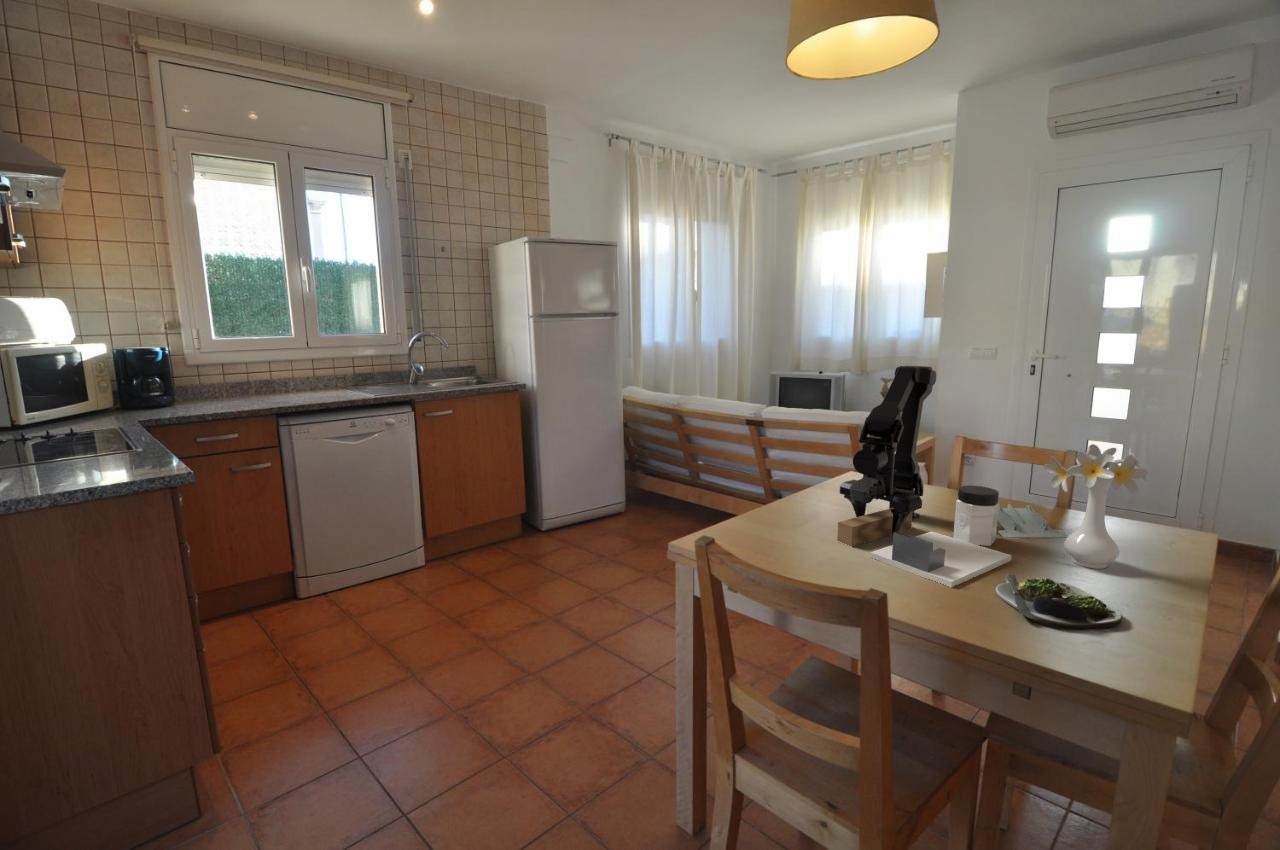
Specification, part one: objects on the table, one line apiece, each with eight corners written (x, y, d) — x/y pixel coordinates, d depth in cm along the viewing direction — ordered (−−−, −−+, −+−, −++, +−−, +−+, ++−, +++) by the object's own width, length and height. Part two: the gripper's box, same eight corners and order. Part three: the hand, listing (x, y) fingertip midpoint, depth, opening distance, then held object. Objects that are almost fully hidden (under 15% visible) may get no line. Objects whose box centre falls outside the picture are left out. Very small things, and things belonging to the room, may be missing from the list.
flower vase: (1024, 555, 131) (1036, 443, 127) (1097, 549, 134) (1111, 439, 130) (1076, 581, 119) (1091, 456, 114) (1156, 573, 122) (1173, 452, 117)
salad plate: (966, 584, 119) (968, 561, 118) (1054, 581, 120) (1056, 559, 119) (1035, 634, 100) (1038, 608, 99) (1138, 630, 101) (1142, 604, 100)
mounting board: (931, 536, 144) (931, 531, 143) (1011, 560, 129) (1011, 555, 129) (870, 557, 131) (870, 552, 131) (951, 587, 116) (951, 581, 116)
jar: (945, 535, 144) (949, 486, 142) (972, 531, 147) (976, 483, 144) (975, 548, 136) (980, 497, 134) (1004, 544, 138) (1009, 493, 136)
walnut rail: (896, 525, 152) (898, 506, 151) (911, 529, 149) (912, 510, 148) (837, 542, 141) (838, 522, 140) (851, 548, 138) (852, 527, 137)
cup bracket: (908, 553, 130) (910, 527, 129) (944, 565, 124) (946, 538, 123) (891, 559, 127) (893, 532, 126) (927, 572, 120) (929, 544, 119)
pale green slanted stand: (979, 500, 153) (1039, 500, 153) (973, 519, 155) (1033, 519, 155) (1009, 535, 140) (1075, 534, 140) (1003, 555, 143) (1067, 554, 142)
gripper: (826, 463, 145) (823, 525, 148) (895, 480, 130) (891, 548, 133) (855, 457, 152) (852, 516, 154) (925, 472, 136) (920, 538, 139)
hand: (877, 529), depth 145 cm, fingers open, 9 cm apart
